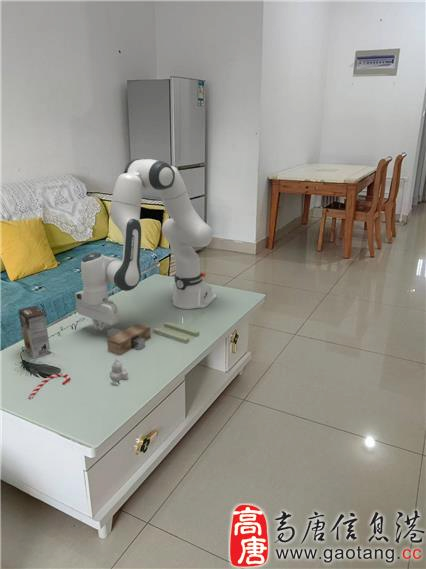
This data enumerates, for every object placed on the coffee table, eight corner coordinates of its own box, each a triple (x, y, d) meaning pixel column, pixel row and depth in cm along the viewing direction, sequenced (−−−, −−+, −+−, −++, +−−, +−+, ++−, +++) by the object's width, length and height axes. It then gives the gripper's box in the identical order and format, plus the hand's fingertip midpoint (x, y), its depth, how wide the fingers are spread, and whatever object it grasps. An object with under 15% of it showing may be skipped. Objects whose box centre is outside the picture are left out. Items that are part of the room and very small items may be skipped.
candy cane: (20, 394, 132) (56, 370, 145) (21, 397, 133) (56, 373, 146) (40, 400, 129) (74, 375, 142) (40, 404, 130) (75, 379, 143)
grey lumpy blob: (116, 374, 144) (114, 353, 142) (133, 378, 142) (131, 357, 139) (106, 382, 140) (103, 360, 137) (123, 387, 137) (121, 365, 134)
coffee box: (24, 349, 160) (17, 309, 155) (42, 344, 164) (36, 304, 159) (33, 359, 154) (26, 317, 148) (51, 353, 158) (45, 312, 152)
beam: (139, 337, 169) (138, 323, 167) (150, 341, 166) (149, 327, 164) (108, 354, 157) (106, 339, 155) (120, 358, 154) (118, 343, 152)
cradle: (167, 328, 177) (167, 321, 176) (199, 338, 168) (199, 331, 167) (153, 336, 170) (153, 329, 169) (185, 347, 162) (185, 340, 161)
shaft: (114, 335, 168) (113, 327, 166) (144, 346, 159) (144, 338, 158) (107, 338, 165) (107, 331, 164) (138, 350, 157) (138, 342, 155)
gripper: (121, 299, 161) (124, 332, 166) (84, 288, 172) (88, 320, 177) (108, 304, 156) (112, 339, 161) (71, 293, 167) (75, 325, 172)
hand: (99, 329), depth 169 cm, fingers closed
